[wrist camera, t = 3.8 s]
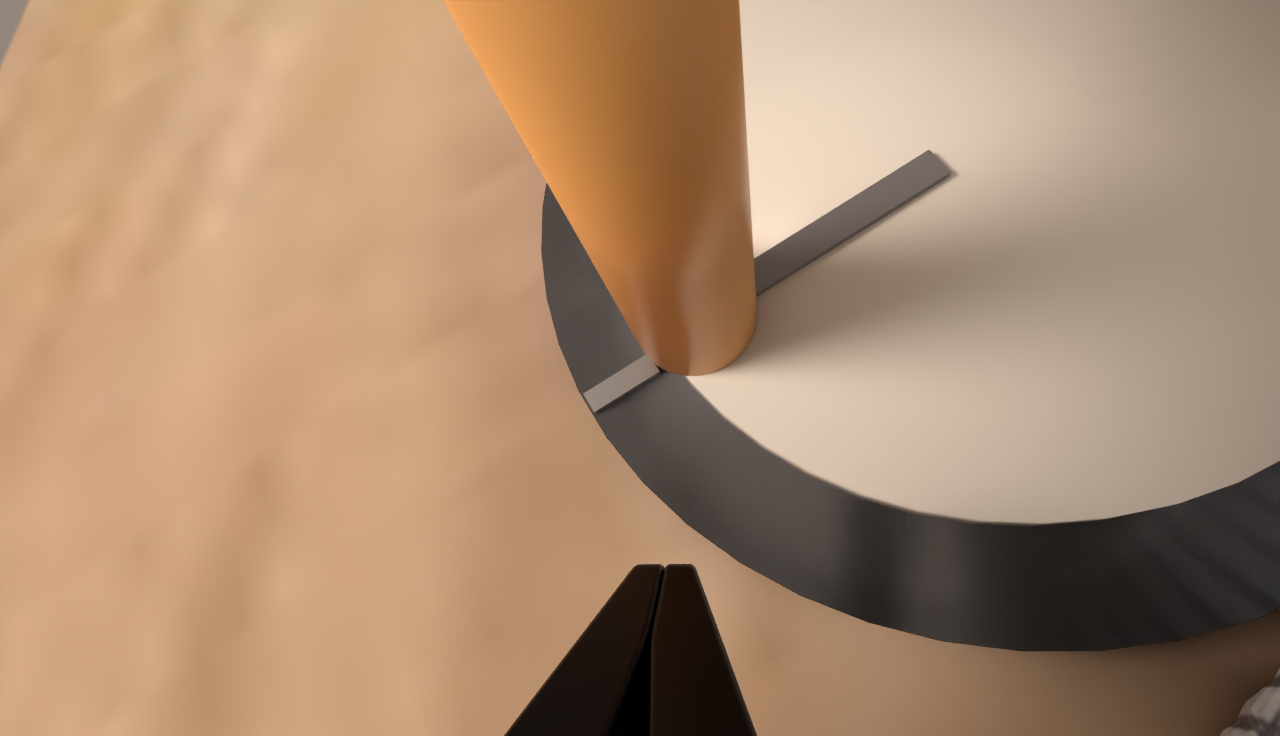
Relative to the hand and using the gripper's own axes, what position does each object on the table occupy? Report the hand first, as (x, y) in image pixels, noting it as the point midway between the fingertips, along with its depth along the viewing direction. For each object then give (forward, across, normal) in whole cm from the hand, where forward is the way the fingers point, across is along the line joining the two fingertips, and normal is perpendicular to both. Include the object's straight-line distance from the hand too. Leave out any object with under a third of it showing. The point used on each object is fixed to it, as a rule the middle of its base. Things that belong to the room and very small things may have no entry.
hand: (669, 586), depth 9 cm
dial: (+11, -7, -3) cm, 13 cm away
